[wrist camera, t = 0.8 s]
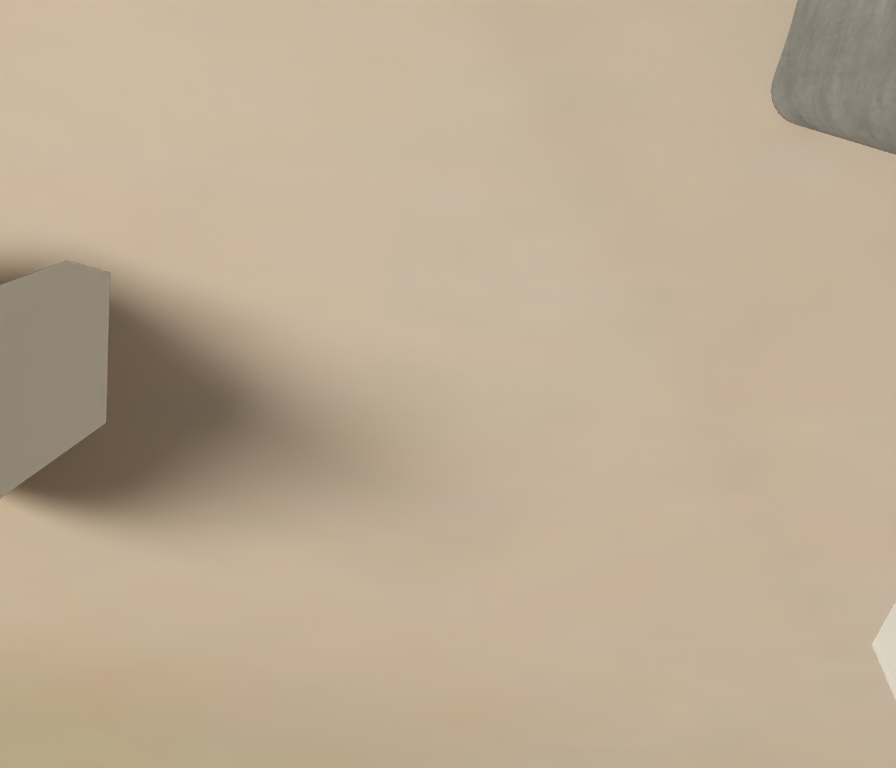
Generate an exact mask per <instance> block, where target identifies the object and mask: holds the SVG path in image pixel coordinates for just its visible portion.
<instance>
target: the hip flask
mask: <svg viewBox="0 0 896 768" xmlns="http://www.w3.org/2000/svg"><path fill="white" fill-rule="evenodd" d="M771 94H772V100H773V103H774V106H775V108H776V110H777V111H778V113H779V114H780V115H781V116H782V117H783V118H784V119H786V120H787V121H789V122H791V123H794V124H796V125H799V126H803V127H806V128H809V129H813V130H816V131H819V132H823V133H826V134H829V135H833V136H836V137H839V138H843V139H846V140H849V141H853V142H856V143H859V144H862V145H866V146H869V147H872V148H876V149H879V150H882V151H886V152H889V153H892V154H896V0H798V2H797V6H796V10H795V13H794V17H793V21H792V24H791V28H790V31H789V34H788V37H787V40H786V44H785V47H784V50H783V53H782V56H781V58H780V61H779V64H778V67H777V70H776V72H775V75H774V78H773V82H772V89H771Z"/></svg>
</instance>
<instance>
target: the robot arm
mask: <svg viewBox="0 0 896 768" xmlns="http://www.w3.org/2000/svg"><path fill="white" fill-rule="evenodd" d="M109 294H110V272H107V271H103V270H99V269H96V268H92V267H88V266H84V265H81V264H77V263H73V262H70V261H64V262H61V263H58V264H56V265H53V266H50V267H48V268H45V269H42V270H40V271H37V272H34V273H31V274H29V275H26V276H23V277H21V278H18V279H15V280H13V281H10V282H7V283H4V284H2V285H0V498H1V497H3V496H4V495H6V494H7V493H8V492H10V491H11V490H13V489H14V488H15V487H17V486H18V485H20V484H21V483H22V482H24V481H25V480H27V479H28V478H29V477H31V476H32V475H34V474H35V473H36V472H38V471H39V470H41V469H42V468H43V467H45V466H46V465H48V464H49V463H50V462H52V461H53V460H55V459H56V458H57V457H59V456H60V455H62V454H63V453H64V452H66V451H67V450H69V449H70V448H71V447H73V446H74V445H76V444H77V443H78V442H80V441H81V440H83V439H84V438H86V437H87V436H88V435H90V434H91V433H93V432H94V431H95V430H97V429H98V428H100V427H101V426H102V425H104V424H105V423H106V413H107V373H108V333H109ZM872 646H873V648H874V651H875V653H876V655H877V658H878V660H879V662H880V665H881V667H882V669H883V672H884V674H885V676H886V679H887V681H888V683H889V686H890V688H891V690H892V693H893V695H894V698H895V700H896V602H895V604H894V606H893V608H892V609H891V611H890V613H889V615H888V617H887V618H886V620H885V622H884V624H883V626H882V627H881V629H880V631H879V633H878V635H877V636H876V638H875V640H874V642H873V644H872Z"/></svg>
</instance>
